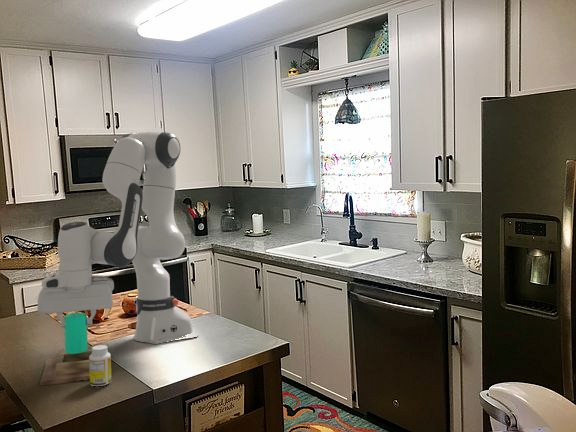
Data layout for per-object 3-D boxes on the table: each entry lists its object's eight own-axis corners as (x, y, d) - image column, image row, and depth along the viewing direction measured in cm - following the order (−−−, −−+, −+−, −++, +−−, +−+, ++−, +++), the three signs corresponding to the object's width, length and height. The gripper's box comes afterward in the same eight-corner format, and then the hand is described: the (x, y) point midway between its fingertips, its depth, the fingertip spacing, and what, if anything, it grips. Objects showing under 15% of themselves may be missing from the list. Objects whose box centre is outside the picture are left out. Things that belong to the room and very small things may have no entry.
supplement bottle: (104, 378, 145) (103, 342, 144) (115, 383, 141) (114, 346, 141) (85, 384, 141) (84, 347, 140) (96, 389, 137) (95, 351, 136)
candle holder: (110, 356, 163) (110, 344, 162) (111, 377, 146) (110, 363, 146) (47, 363, 157) (47, 350, 156) (40, 385, 140) (40, 371, 140)
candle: (79, 354, 147) (78, 312, 146) (60, 353, 148) (59, 311, 148) (91, 347, 153) (90, 307, 152) (73, 346, 154) (72, 306, 154)
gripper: (113, 274, 156) (114, 319, 157) (38, 278, 149) (40, 326, 150) (113, 278, 150) (114, 325, 151) (35, 283, 143) (37, 332, 144)
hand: (76, 325), depth 150 cm, fingers closed on candle, 5 cm apart
